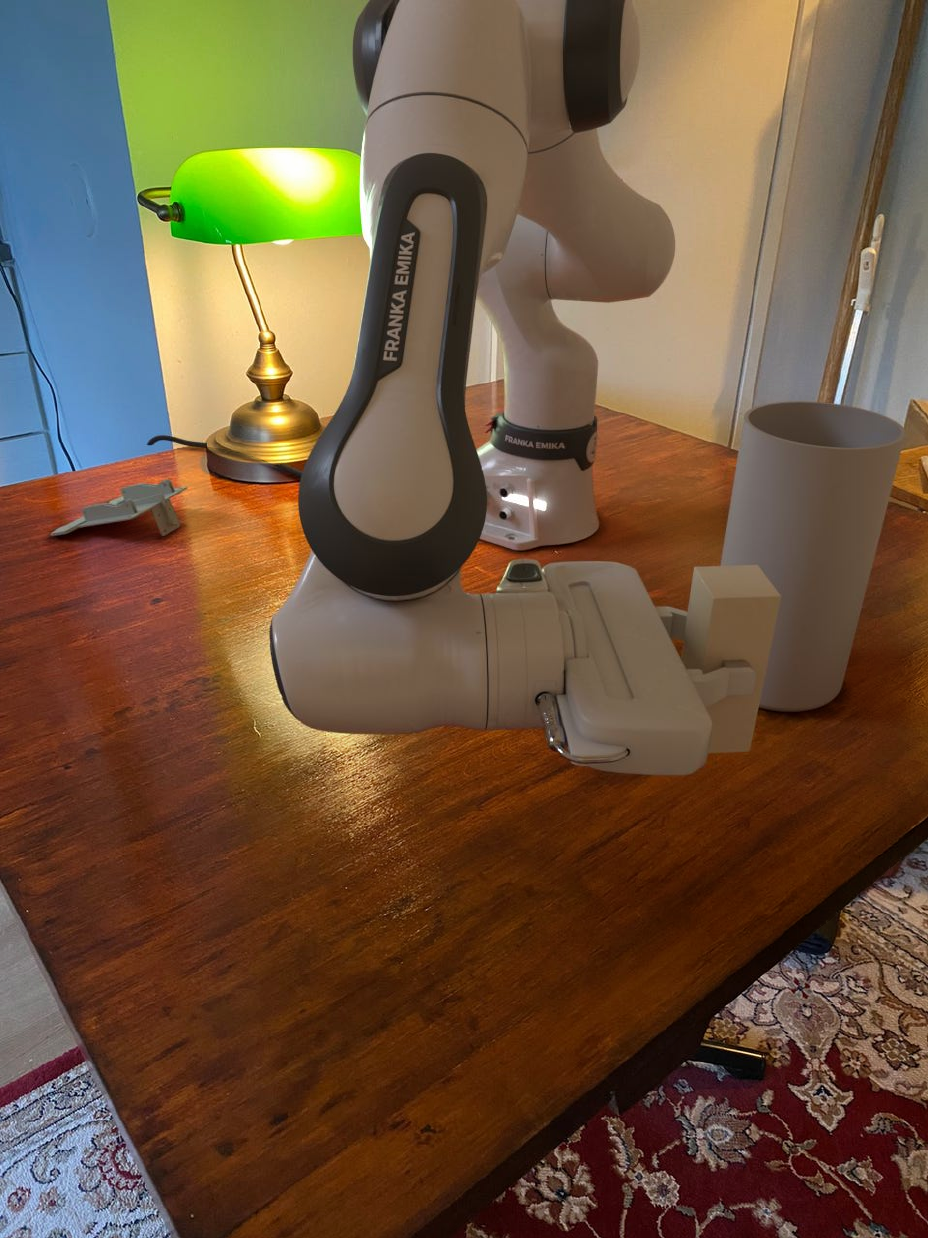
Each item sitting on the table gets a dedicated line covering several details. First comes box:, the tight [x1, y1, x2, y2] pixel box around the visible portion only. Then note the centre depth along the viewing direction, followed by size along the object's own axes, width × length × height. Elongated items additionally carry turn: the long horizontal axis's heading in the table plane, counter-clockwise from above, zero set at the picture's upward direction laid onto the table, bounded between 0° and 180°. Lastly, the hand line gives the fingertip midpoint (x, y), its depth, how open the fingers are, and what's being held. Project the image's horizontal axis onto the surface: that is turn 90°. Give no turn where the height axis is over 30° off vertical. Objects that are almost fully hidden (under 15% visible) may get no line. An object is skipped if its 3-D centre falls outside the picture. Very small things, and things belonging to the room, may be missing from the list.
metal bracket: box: [50, 478, 188, 537], centre depth 117 cm, size 14×6×15 cm
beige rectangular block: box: [680, 565, 781, 754], centre depth 60 cm, size 4×4×12 cm
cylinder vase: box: [719, 400, 906, 713], centre depth 81 cm, size 12×12×25 cm
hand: (737, 652), depth 59 cm, fingers closed on beige rectangular block, 4 cm apart
